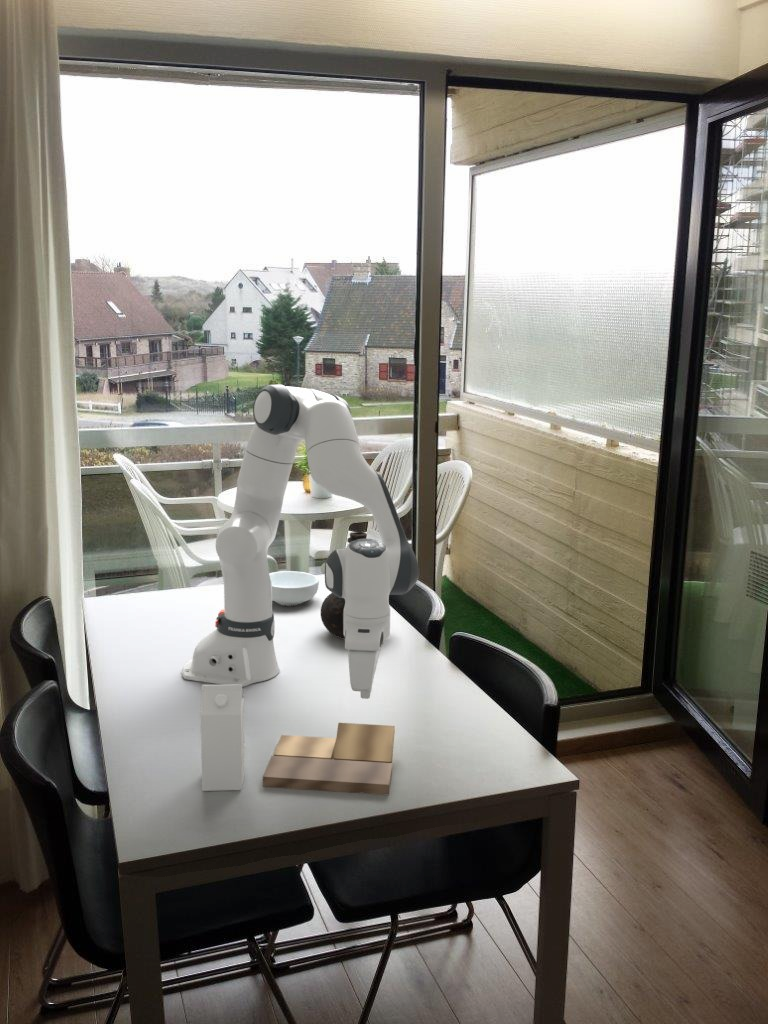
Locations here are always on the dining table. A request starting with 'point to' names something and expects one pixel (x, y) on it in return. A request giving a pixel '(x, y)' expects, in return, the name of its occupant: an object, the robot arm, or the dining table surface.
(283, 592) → the cereal bowl
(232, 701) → the milk carton
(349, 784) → the base board
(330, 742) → the plank
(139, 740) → the dining table surface
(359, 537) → the dark brown round bottle
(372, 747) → the plank
